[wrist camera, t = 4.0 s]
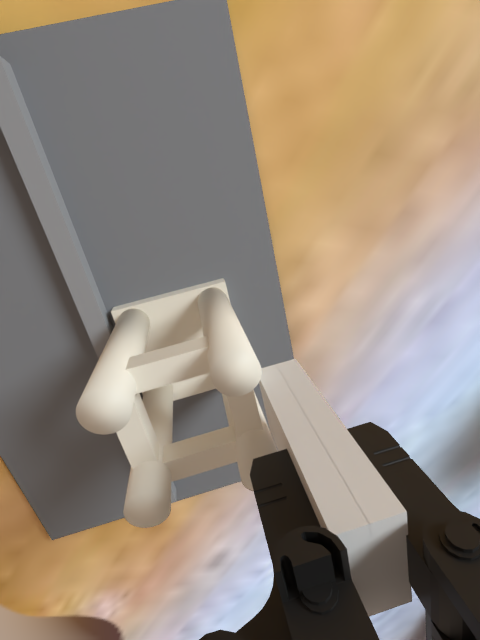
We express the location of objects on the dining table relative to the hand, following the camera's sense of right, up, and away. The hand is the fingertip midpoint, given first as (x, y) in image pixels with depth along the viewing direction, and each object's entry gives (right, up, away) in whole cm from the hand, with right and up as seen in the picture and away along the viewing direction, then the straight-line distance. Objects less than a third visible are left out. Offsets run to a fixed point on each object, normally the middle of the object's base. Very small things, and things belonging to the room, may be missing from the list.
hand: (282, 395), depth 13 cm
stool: (-5, +2, +7) cm, 8 cm away
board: (-8, +3, +6) cm, 11 cm away
